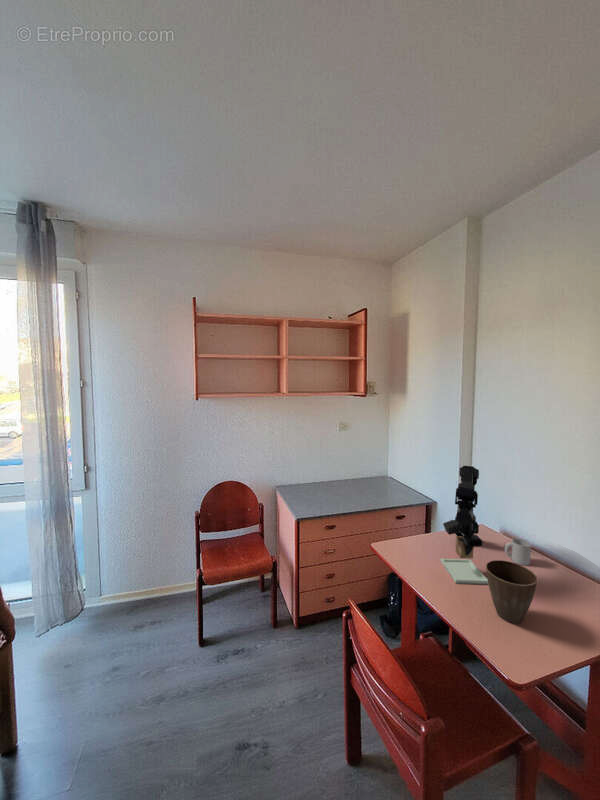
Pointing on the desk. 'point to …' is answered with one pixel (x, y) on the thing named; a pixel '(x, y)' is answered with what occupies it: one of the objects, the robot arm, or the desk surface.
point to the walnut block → (462, 548)
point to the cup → (519, 551)
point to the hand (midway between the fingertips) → (464, 551)
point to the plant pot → (511, 589)
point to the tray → (464, 571)
